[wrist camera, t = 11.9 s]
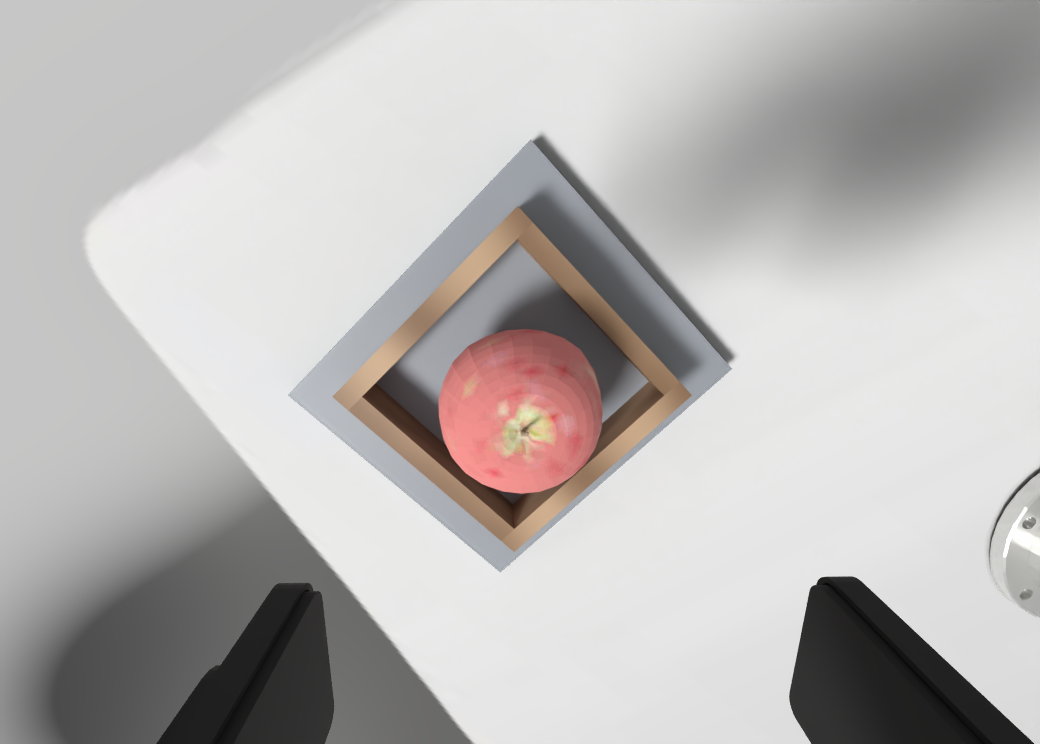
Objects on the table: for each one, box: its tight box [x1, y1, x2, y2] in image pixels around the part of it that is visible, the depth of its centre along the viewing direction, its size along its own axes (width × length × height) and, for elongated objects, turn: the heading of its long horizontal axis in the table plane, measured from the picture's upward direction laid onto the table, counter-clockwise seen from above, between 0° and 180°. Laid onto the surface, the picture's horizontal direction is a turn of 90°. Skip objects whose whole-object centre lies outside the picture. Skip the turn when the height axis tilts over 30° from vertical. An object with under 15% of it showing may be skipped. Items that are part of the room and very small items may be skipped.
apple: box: [439, 329, 603, 494], centre depth 22 cm, size 7×7×8 cm
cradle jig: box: [288, 140, 732, 572], centre depth 25 cm, size 18×16×4 cm
